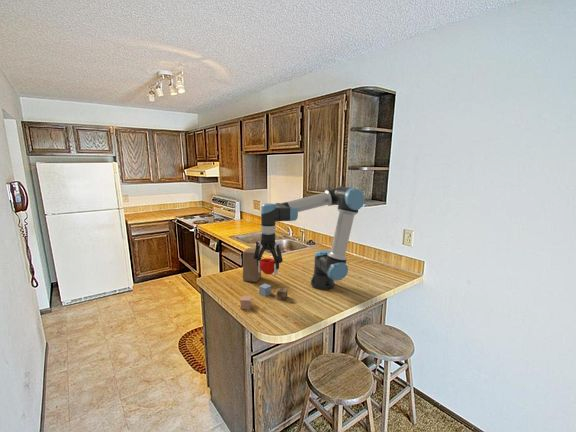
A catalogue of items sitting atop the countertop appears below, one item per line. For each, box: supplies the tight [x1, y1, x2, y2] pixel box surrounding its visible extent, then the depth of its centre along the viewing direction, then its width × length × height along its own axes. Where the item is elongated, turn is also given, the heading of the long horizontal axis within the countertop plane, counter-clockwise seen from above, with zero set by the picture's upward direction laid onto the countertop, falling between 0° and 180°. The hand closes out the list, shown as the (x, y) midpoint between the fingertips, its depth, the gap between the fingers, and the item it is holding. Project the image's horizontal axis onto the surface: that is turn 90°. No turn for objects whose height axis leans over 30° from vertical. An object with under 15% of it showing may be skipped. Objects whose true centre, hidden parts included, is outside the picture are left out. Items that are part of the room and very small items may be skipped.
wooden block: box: [242, 247, 262, 283], centre depth 181 cm, size 10×10×20 cm
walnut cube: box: [276, 287, 288, 301], centre depth 158 cm, size 5×5×5 cm
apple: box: [260, 258, 275, 276], centre depth 148 cm, size 9×9×8 cm
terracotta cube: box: [240, 295, 252, 310], centre depth 147 cm, size 5×5×5 cm
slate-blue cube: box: [258, 283, 272, 297], centre depth 162 cm, size 5×5×5 cm
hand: (267, 273), depth 149 cm, fingers closed on apple, 9 cm apart
